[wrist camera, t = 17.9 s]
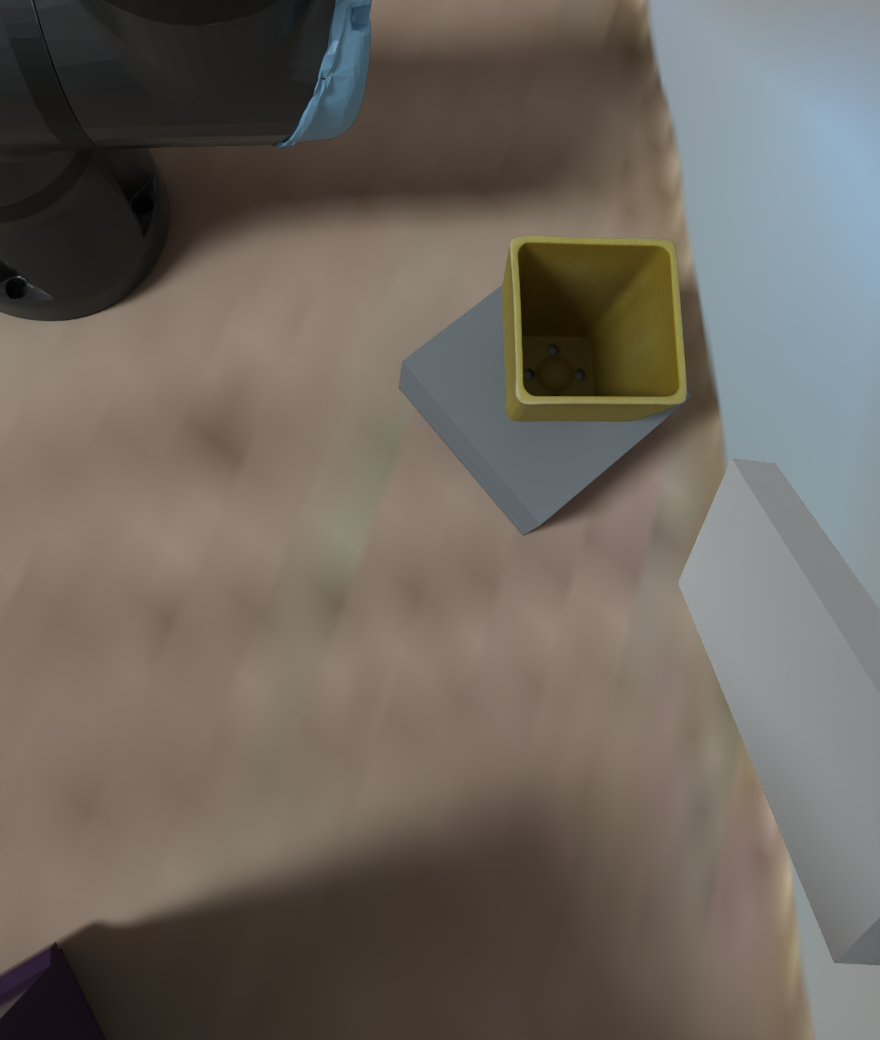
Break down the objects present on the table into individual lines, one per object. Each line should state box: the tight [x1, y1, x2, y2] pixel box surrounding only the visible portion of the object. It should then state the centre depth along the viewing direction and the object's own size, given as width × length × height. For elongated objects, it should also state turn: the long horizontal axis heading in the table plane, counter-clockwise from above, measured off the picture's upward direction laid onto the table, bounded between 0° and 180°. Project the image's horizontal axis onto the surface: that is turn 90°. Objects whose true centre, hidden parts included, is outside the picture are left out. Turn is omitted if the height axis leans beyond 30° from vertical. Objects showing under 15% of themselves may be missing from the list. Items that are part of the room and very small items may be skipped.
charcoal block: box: [399, 285, 692, 535], centre depth 48 cm, size 13×13×5 cm
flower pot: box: [502, 236, 687, 422], centre depth 41 cm, size 9×9×9 cm
